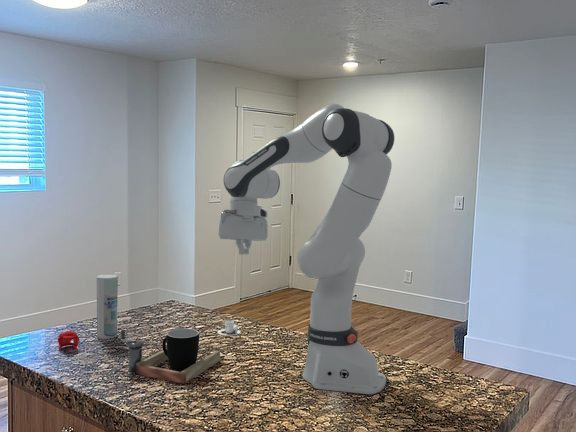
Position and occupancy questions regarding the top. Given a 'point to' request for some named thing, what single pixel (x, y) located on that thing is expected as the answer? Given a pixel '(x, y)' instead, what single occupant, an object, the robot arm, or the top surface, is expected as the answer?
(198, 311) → the top surface
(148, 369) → the bay
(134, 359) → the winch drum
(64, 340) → the cap
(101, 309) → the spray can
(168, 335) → the mug
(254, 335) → the top surface
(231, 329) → the teacup and saucer
